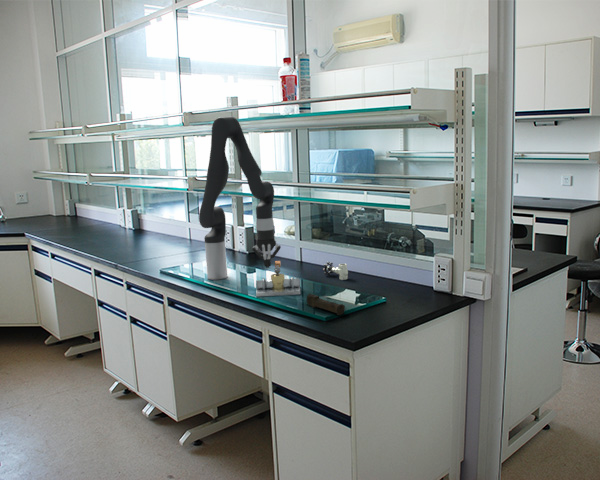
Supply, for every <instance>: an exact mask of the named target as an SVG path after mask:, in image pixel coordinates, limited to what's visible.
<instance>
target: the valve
mask: <svg viewBox="0 0 600 480" xmlns="http://www.w3.org/2000/svg"><path fill="white" fill-rule="evenodd" d="M333 264H334V263H333V262H330V261H326V263H323V267H324V268H322V271H323V274H324V275H325V276H328V277H330V276H331V274H333V273H335V274H336V275H339V276H338V278H339V280H341V281H343V280H346V281H347V280H348V278H349V277H348V274H349V270H348V264H347V263H339V264H338V267H335V266H334V265H333Z"/></svg>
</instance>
